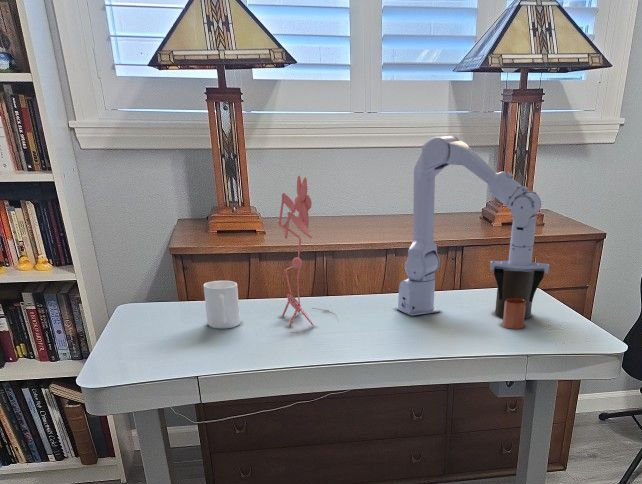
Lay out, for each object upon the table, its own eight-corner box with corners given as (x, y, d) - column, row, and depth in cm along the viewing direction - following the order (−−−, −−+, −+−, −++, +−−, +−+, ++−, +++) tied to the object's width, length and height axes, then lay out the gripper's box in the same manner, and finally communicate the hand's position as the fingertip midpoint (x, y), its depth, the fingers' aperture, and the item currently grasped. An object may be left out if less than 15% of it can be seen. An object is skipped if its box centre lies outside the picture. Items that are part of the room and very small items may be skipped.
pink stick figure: (292, 337, 172) (285, 183, 155) (272, 309, 193) (264, 171, 176) (352, 332, 176) (352, 182, 159) (326, 305, 197) (323, 170, 180)
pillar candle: (502, 320, 187) (508, 263, 180) (490, 310, 195) (495, 255, 188) (536, 318, 189) (543, 262, 182) (522, 309, 197) (529, 254, 190)
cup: (240, 318, 184) (236, 279, 180) (241, 332, 174) (237, 291, 169) (207, 320, 183) (203, 281, 178) (207, 334, 173) (202, 292, 168)
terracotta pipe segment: (527, 327, 182) (530, 302, 179) (511, 329, 180) (513, 304, 177) (514, 321, 186) (517, 297, 183) (498, 324, 184) (500, 299, 181)
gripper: (550, 243, 176) (543, 297, 182) (492, 240, 178) (487, 294, 184) (552, 248, 170) (544, 304, 176) (491, 245, 171) (486, 301, 178)
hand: (515, 299), depth 180 cm, fingers open, 7 cm apart
